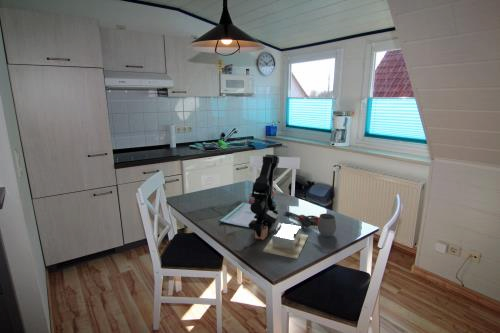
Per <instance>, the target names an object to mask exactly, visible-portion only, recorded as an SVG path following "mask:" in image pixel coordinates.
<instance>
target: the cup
mask: <svg viewBox="0 0 500 333" xmlns="http://www.w3.org/2000/svg"><path fill="white" fill-rule="evenodd" d="M318 217H319V221H318V225H317V226H316V229H317V231H318V232H319V234H320V236H323V237H326V238H328V237H332V236H333V235H334V234H335V232H336V230H337V223H336V222H337V220H336V216H335V215H333V214H332V213H321V214H319V216H318Z"/></svg>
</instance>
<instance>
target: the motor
mask: <svg viewBox="0 0 500 333" xmlns="http://www.w3.org/2000/svg"><path fill="white" fill-rule="evenodd" d="M301 234H302V226H299V225H298V224H296V223H295V222H288V224H287V223H282V222H278V224H277V226H276V227H275V228H274V230H273V234H272V237H271V239H272V247H274V248H278V249H283V250H288V251H294V249H295V247H296V245H297V243H298V241H299V240H300V237H301Z"/></svg>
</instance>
